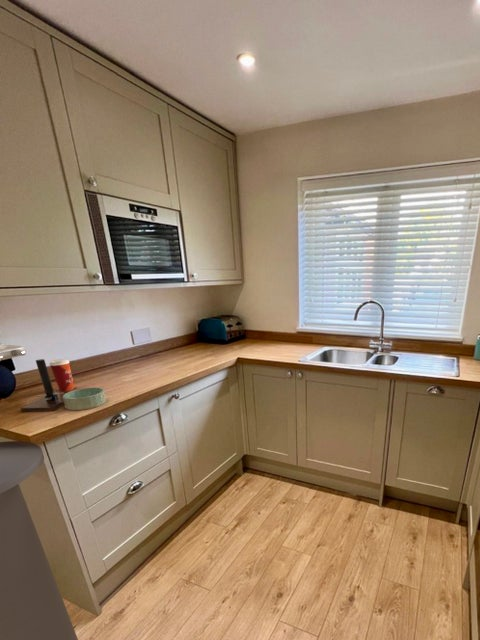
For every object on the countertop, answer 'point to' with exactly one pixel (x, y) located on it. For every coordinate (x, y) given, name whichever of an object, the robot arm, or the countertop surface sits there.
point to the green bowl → (84, 398)
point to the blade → (46, 381)
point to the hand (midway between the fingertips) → (12, 355)
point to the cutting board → (45, 404)
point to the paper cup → (62, 374)
